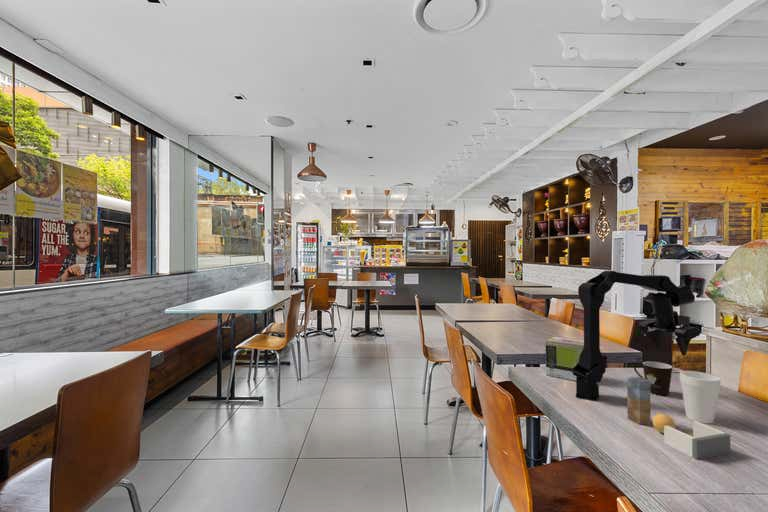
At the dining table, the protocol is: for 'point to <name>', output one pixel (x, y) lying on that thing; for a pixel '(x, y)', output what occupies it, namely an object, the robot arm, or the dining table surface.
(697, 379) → the foam cup
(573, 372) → the robot arm
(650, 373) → the coffee mug
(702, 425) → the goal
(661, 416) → the ball
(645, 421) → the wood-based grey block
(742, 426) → the dining table surface
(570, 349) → the tea box
